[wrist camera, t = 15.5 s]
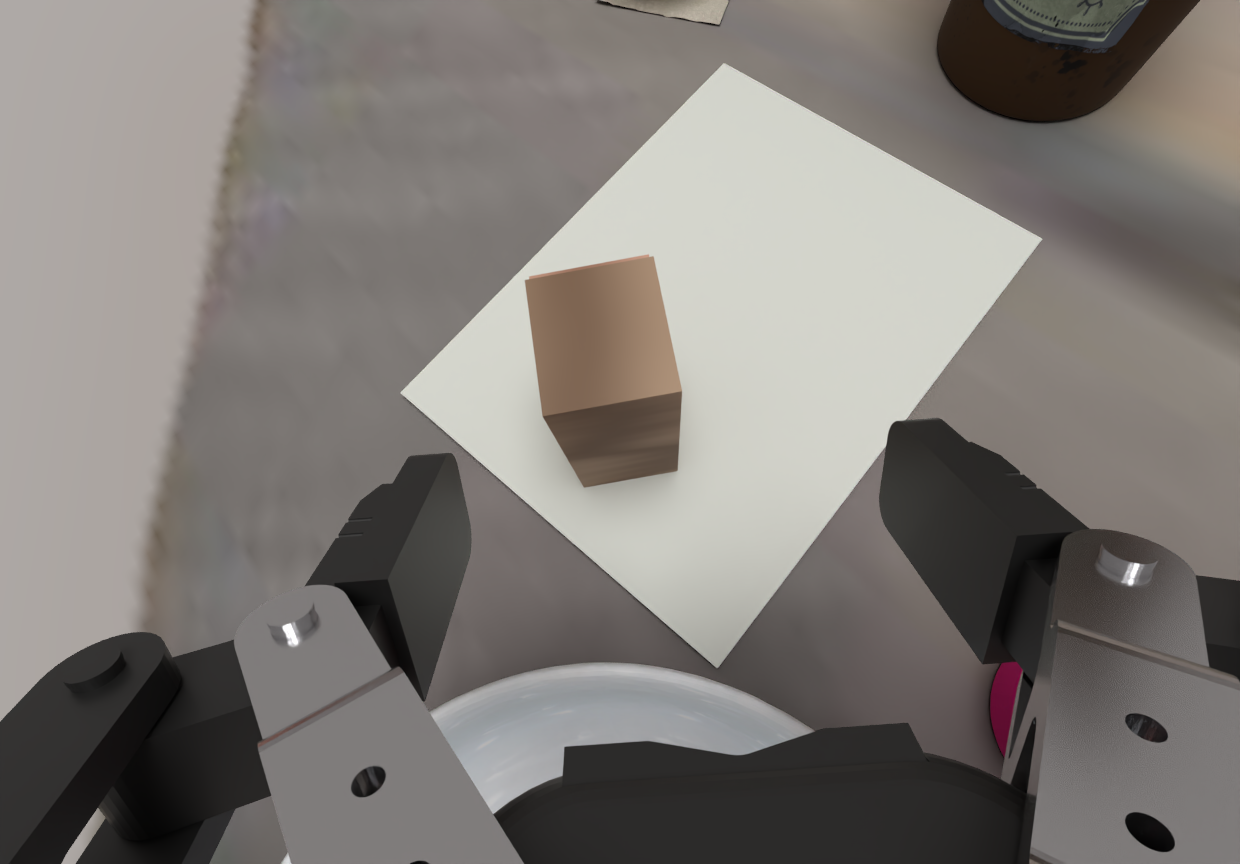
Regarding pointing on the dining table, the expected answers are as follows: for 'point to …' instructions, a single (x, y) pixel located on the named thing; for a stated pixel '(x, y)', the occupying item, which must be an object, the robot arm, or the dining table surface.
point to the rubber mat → (740, 345)
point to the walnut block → (607, 369)
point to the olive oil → (1051, 51)
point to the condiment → (679, 8)
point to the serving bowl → (596, 720)
